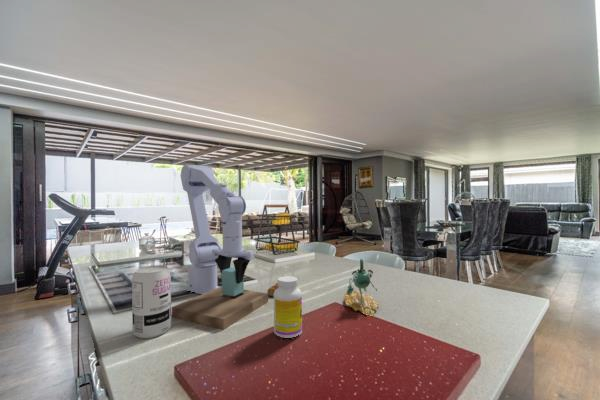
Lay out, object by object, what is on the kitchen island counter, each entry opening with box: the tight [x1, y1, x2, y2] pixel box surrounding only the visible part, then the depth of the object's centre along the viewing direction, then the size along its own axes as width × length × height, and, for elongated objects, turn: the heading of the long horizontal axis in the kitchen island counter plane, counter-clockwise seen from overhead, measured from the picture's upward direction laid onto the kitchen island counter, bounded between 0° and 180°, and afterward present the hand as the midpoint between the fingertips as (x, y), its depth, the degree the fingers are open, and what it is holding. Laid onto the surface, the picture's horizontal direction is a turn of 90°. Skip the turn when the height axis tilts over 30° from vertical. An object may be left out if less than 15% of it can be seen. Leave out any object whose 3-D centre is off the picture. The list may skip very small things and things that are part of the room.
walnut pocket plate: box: [171, 285, 269, 330], centre depth 82 cm, size 18×20×2 cm
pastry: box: [267, 282, 279, 298], centre depth 95 cm, size 9×7×4 cm
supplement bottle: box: [273, 275, 303, 339], centre depth 67 cm, size 7×7×13 cm
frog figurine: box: [343, 258, 380, 317], centre depth 84 cm, size 10×18×15 cm, turn 2°
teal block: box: [221, 266, 245, 296], centre depth 86 cm, size 4×4×7 cm
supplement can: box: [131, 265, 172, 339], centre depth 68 cm, size 8×8×15 cm
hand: (232, 281), depth 86 cm, fingers closed on teal block, 4 cm apart
